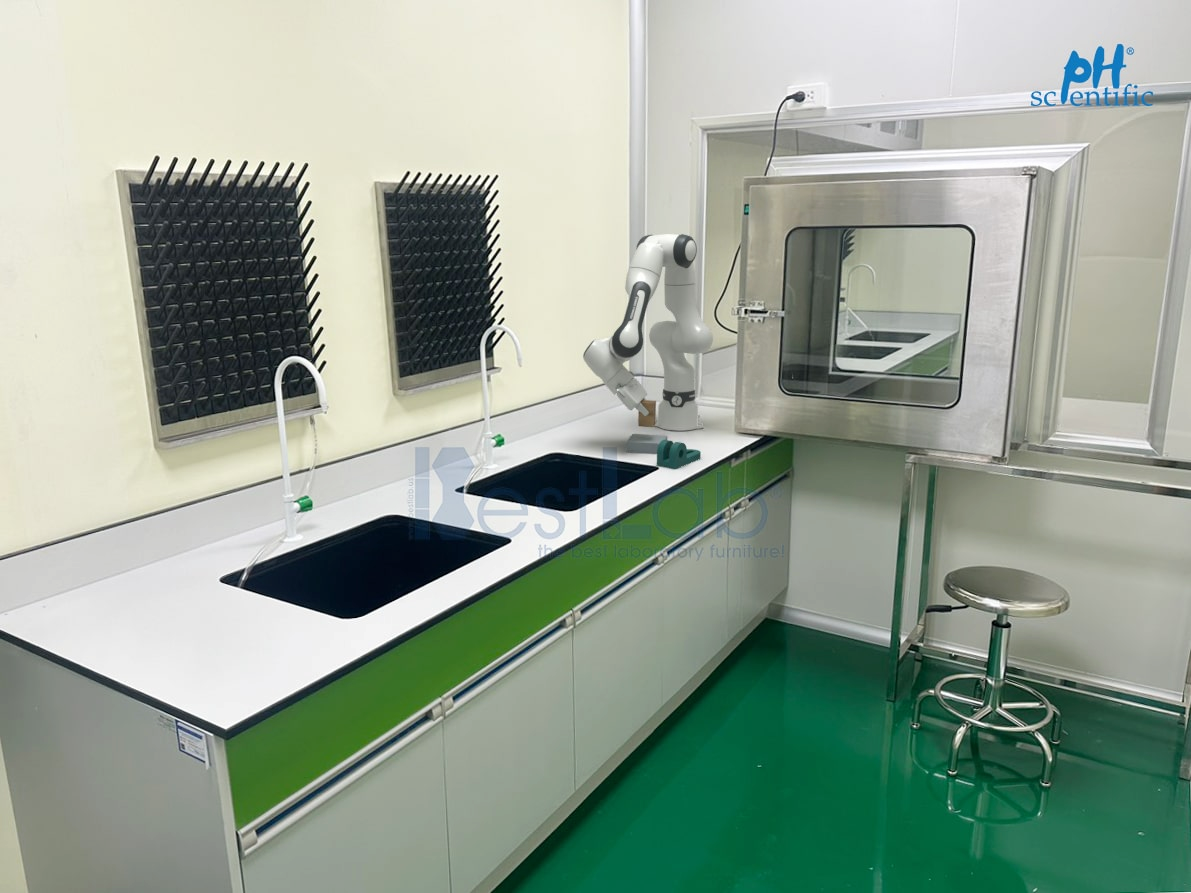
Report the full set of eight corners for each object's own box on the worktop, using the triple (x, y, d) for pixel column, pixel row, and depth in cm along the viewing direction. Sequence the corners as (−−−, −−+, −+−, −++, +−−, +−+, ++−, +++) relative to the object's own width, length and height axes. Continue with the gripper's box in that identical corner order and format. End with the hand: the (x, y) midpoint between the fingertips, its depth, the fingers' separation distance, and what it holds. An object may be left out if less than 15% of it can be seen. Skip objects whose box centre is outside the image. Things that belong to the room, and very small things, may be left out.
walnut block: (640, 423, 292) (641, 399, 290) (655, 424, 291) (656, 400, 289) (638, 426, 287) (638, 402, 285) (653, 427, 286) (653, 403, 284)
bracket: (675, 469, 267) (675, 445, 265) (656, 466, 271) (657, 442, 269) (704, 457, 281) (705, 434, 279) (686, 454, 285) (686, 431, 283)
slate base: (632, 444, 298) (632, 433, 297) (666, 446, 296) (667, 435, 295) (626, 453, 287) (626, 441, 286) (662, 455, 284) (662, 443, 283)
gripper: (621, 380, 277) (651, 412, 277) (632, 371, 296) (660, 400, 296) (607, 393, 279) (636, 425, 279) (619, 383, 298) (647, 412, 298)
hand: (649, 412), depth 288 cm, fingers closed on walnut block, 5 cm apart
